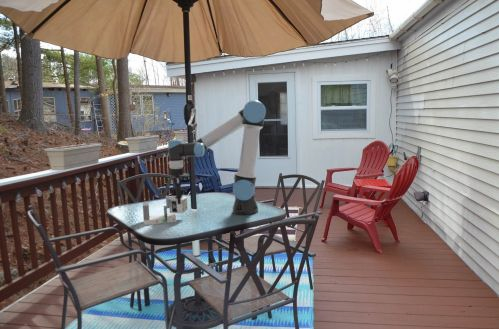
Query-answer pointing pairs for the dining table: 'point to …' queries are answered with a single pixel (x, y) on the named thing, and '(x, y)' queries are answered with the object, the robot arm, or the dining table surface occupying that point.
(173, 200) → the container
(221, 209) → the dining table surface
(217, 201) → the dining table surface
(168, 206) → the gauge plate
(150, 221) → the gauge base
